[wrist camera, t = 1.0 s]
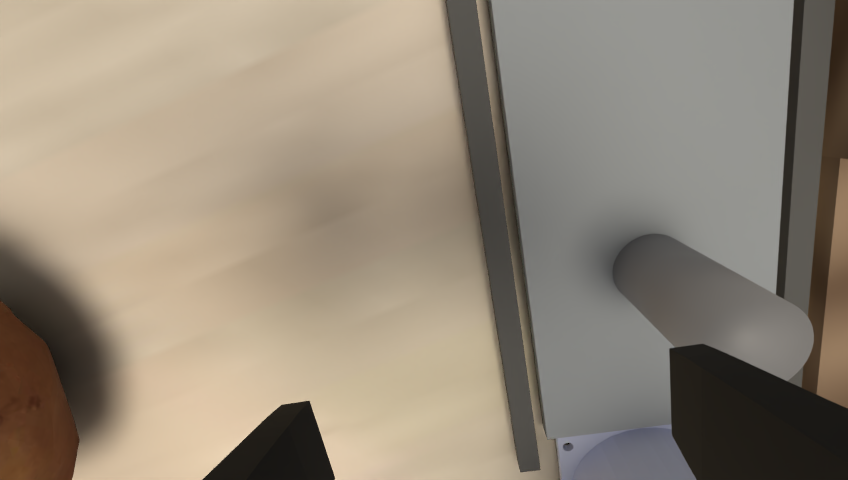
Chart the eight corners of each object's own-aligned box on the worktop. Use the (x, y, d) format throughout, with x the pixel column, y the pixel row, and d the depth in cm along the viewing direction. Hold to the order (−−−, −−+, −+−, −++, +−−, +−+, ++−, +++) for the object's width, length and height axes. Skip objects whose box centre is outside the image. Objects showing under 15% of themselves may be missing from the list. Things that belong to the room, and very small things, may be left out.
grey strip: (755, 400, 20) (910, 542, 13) (543, 427, 21) (590, 573, 14) (790, -287, 13) (1165, -712, 6) (462, -199, 13) (481, -486, 7)
